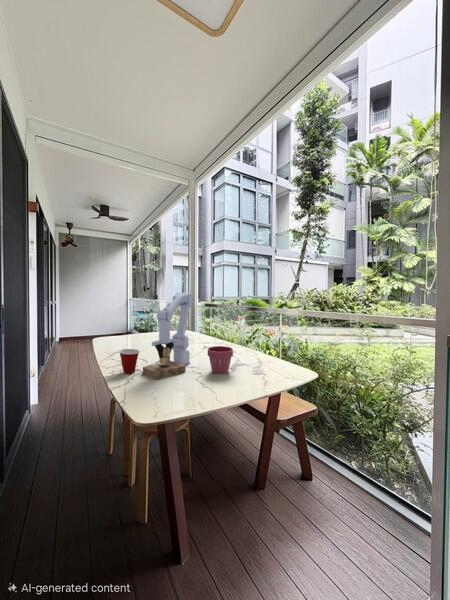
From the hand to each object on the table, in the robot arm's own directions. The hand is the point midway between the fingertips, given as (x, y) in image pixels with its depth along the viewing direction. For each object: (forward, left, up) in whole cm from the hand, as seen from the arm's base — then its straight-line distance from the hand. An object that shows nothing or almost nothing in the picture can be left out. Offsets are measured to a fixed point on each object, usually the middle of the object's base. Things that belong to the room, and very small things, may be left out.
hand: (164, 357), depth 143 cm
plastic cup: (+13, -14, -9) cm, 21 cm away
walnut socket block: (0, 0, -8) cm, 8 cm away
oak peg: (0, 0, -3) cm, 3 cm away
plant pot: (-23, +20, -9) cm, 32 cm away
